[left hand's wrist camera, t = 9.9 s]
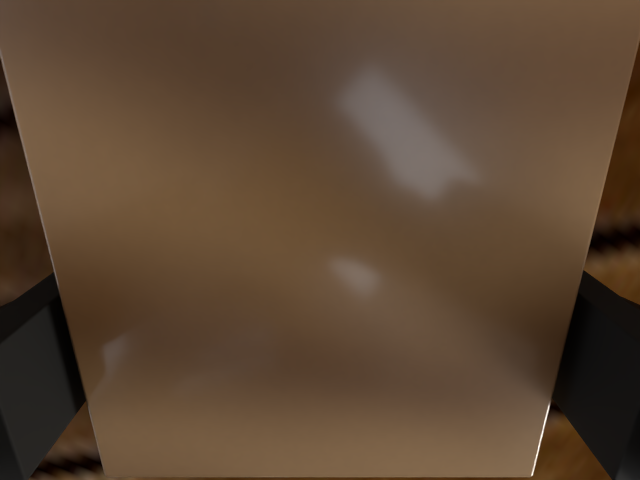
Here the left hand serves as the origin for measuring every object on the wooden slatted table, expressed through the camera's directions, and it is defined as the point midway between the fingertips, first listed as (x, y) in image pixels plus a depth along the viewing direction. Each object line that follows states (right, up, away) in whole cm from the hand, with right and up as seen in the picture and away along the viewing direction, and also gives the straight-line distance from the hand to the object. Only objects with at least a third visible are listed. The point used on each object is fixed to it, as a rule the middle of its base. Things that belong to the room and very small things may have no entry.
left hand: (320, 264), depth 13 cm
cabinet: (0, +7, +2) cm, 7 cm away
